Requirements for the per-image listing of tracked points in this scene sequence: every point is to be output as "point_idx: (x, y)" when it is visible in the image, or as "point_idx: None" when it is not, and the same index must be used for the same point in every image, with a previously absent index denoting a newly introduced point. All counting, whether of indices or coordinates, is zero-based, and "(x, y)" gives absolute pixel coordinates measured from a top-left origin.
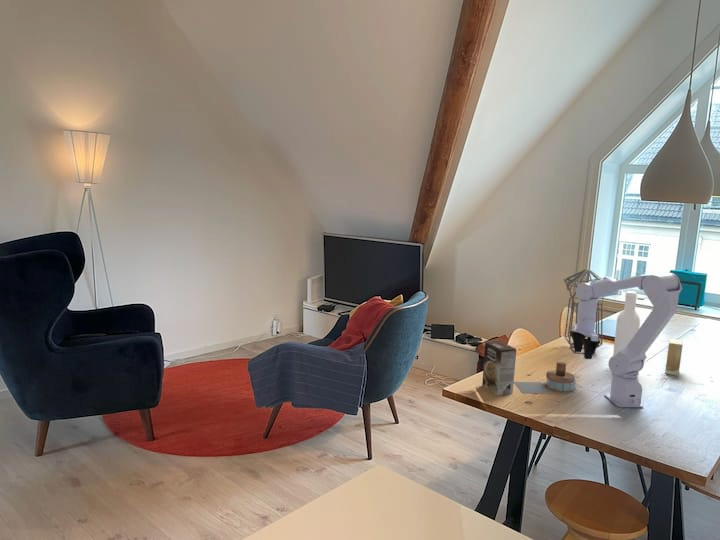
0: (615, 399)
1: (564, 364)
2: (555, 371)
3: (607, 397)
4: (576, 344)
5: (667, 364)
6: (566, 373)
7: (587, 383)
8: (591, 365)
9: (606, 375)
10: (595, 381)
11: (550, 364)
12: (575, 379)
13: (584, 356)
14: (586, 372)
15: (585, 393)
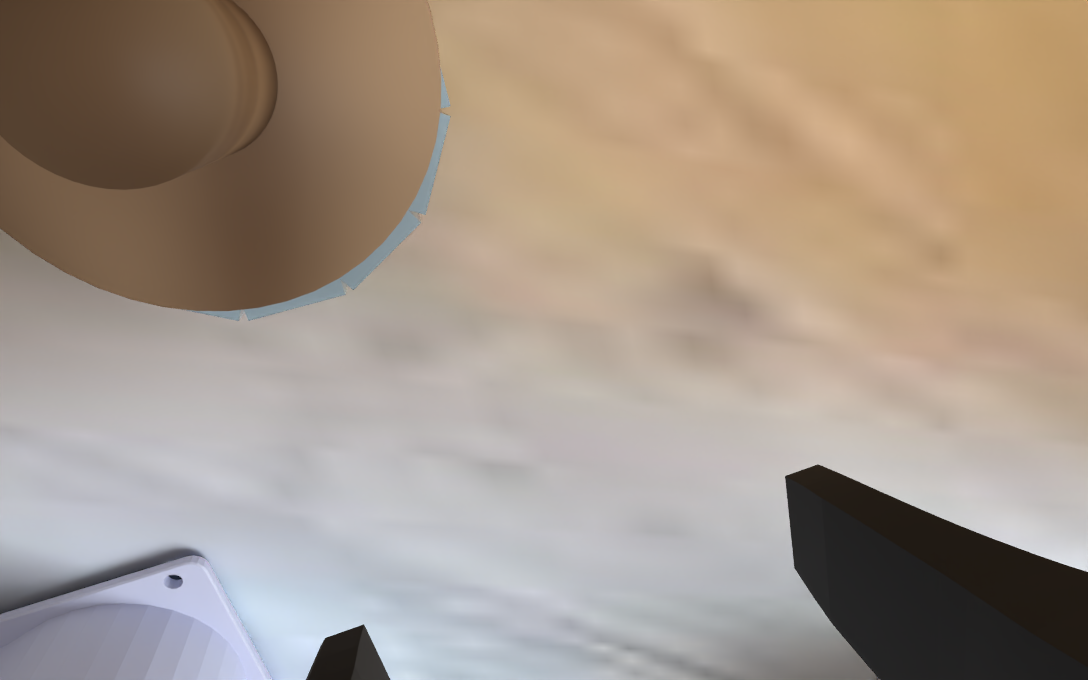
0: (2, 656)
1: (61, 140)
2: (359, 8)
3: (122, 578)
4: (913, 599)
5: None
6: (320, 199)
7: (529, 427)
8: (1008, 498)
9: (780, 590)
10: (608, 500)
11: (1053, 108)
12: (254, 313)
13: (344, 658)
14: (837, 445)
15: (185, 378)
